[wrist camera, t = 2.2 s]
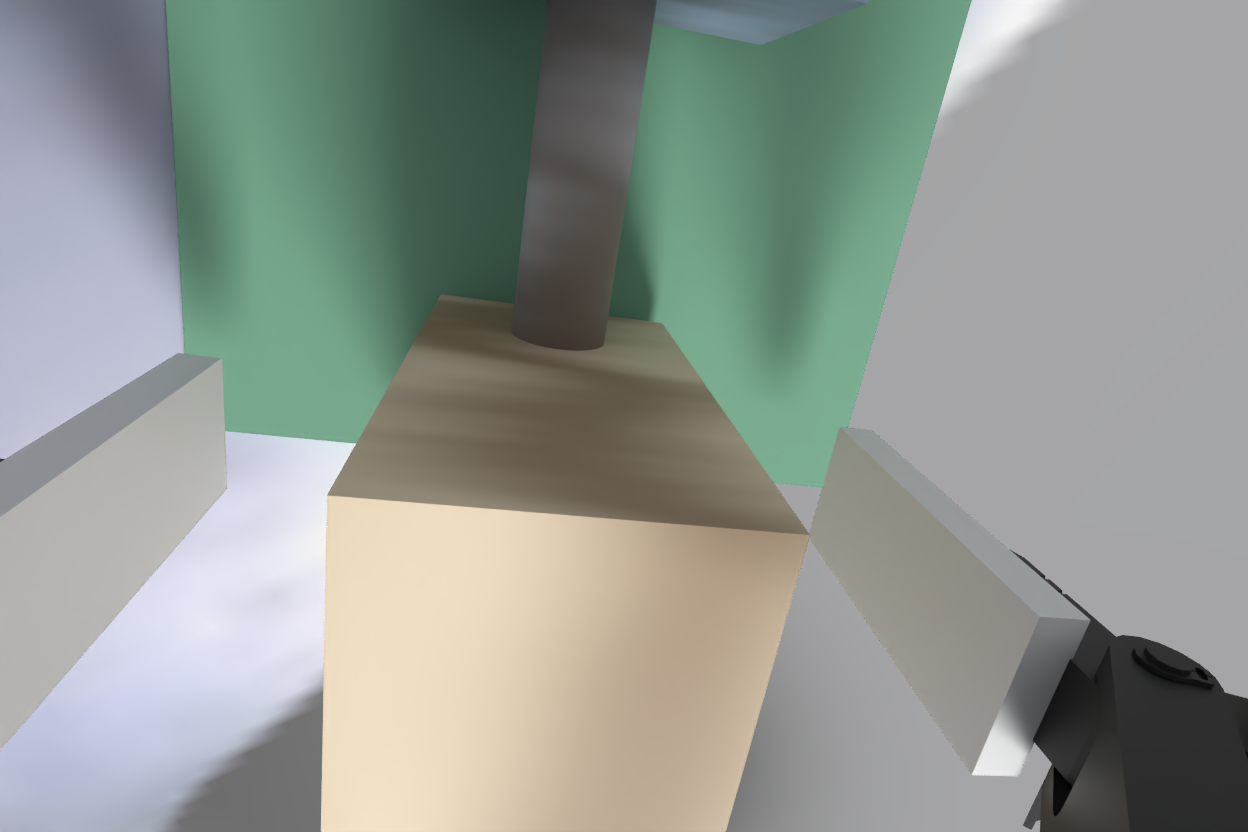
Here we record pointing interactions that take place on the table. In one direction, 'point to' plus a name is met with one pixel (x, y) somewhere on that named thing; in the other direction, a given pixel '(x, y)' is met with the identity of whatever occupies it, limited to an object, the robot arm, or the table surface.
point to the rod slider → (557, 517)
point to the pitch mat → (496, 193)
